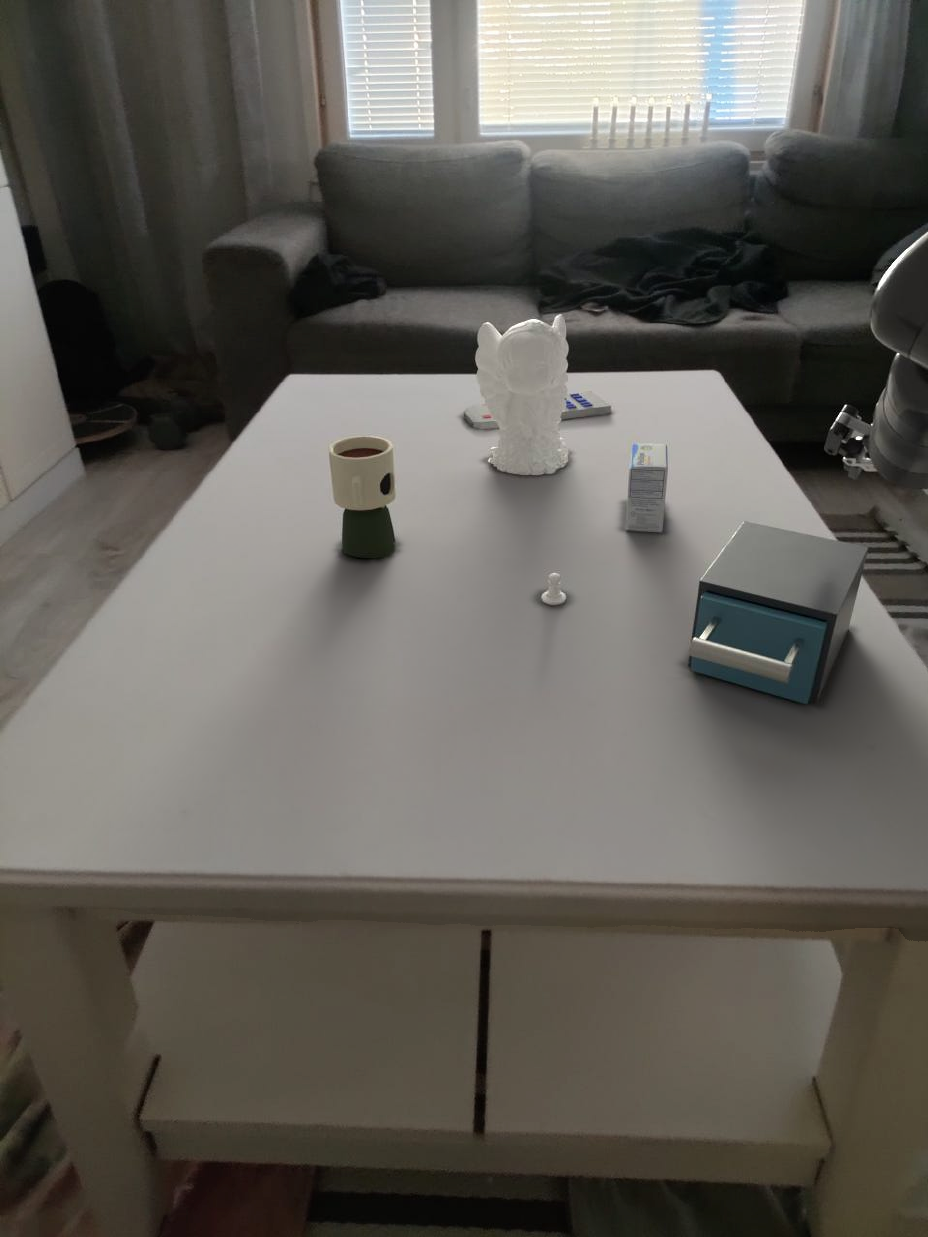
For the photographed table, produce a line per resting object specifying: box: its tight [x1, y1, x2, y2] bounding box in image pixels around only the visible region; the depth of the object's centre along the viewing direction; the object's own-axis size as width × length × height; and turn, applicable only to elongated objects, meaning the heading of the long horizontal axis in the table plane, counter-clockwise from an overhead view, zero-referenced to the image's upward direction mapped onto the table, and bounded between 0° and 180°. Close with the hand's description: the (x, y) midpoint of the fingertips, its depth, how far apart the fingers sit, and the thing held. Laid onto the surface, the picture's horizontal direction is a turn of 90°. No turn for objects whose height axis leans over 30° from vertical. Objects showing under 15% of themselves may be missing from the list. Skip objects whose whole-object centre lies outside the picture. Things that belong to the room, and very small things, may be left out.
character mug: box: [328, 435, 397, 560], centre depth 101 cm, size 11×7×13 cm, turn 178°
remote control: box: [463, 390, 612, 430], centre depth 142 cm, size 8×23×2 cm, turn 107°
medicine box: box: [625, 442, 669, 533], centre depth 107 cm, size 8×4×9 cm, turn 170°
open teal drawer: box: [688, 592, 827, 705], centre depth 79 cm, size 18×10×8 cm, turn 149°
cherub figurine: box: [474, 314, 570, 476], centre depth 121 cm, size 13×12×20 cm
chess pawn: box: [541, 572, 567, 606], centre depth 92 cm, size 3×3×4 cm
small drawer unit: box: [687, 520, 869, 704], centre depth 82 cm, size 14×12×10 cm
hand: (901, 489), depth 80 cm, fingers open, 8 cm apart
